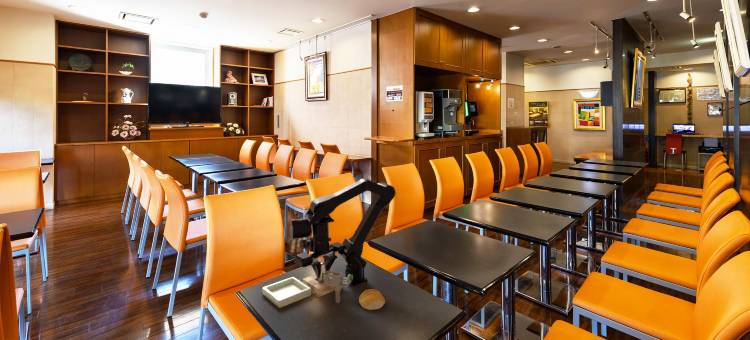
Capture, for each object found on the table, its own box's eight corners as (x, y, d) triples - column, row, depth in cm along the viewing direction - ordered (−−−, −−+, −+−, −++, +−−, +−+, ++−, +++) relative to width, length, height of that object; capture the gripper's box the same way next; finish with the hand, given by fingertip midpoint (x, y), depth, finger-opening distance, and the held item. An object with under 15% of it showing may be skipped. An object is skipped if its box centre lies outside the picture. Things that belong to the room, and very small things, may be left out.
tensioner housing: (326, 277, 135) (325, 270, 135) (342, 287, 128) (341, 279, 127) (303, 286, 129) (302, 279, 128) (318, 297, 121) (318, 289, 121)
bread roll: (379, 294, 123) (378, 283, 122) (387, 308, 115) (387, 296, 114) (355, 298, 121) (355, 287, 120) (362, 312, 112) (362, 300, 112)
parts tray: (293, 282, 132) (293, 276, 131) (311, 295, 123) (311, 288, 122) (262, 294, 124) (262, 287, 123) (279, 308, 115) (278, 300, 114)
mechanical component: (351, 305, 116) (351, 277, 114) (321, 302, 118) (320, 274, 116) (354, 301, 119) (353, 272, 117) (324, 298, 121) (323, 270, 119)
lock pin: (323, 284, 130) (322, 261, 129) (328, 287, 128) (327, 263, 127) (316, 287, 128) (315, 263, 127) (321, 290, 126) (320, 266, 125)
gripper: (329, 223, 137) (330, 262, 140) (285, 235, 125) (287, 277, 127) (347, 230, 129) (348, 271, 132) (302, 244, 117) (304, 288, 119)
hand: (322, 276), depth 128 cm, fingers closed on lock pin, 3 cm apart
